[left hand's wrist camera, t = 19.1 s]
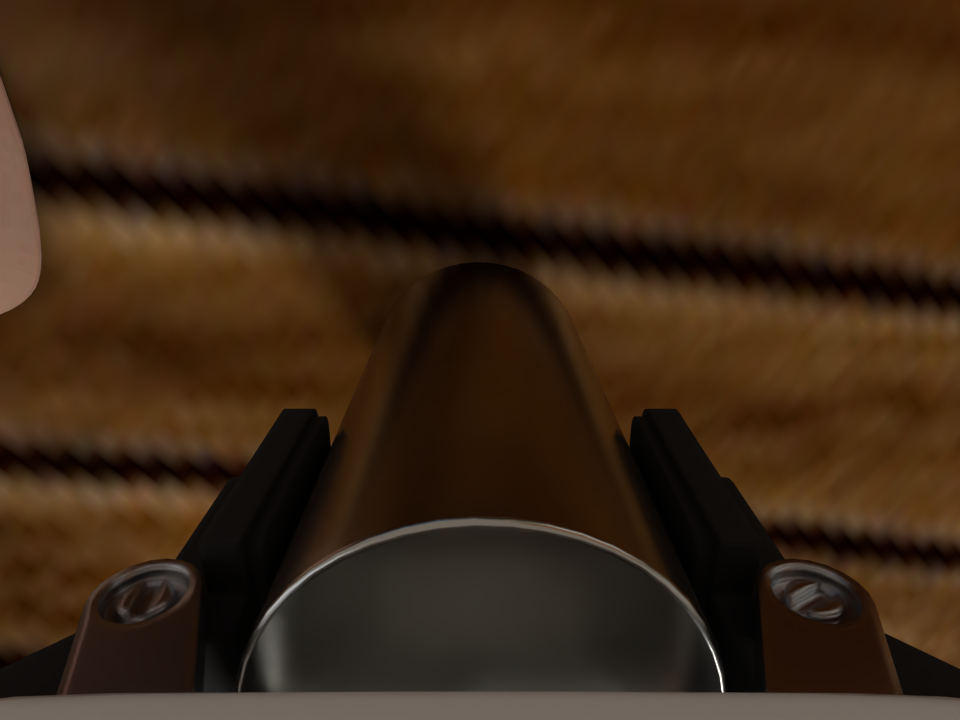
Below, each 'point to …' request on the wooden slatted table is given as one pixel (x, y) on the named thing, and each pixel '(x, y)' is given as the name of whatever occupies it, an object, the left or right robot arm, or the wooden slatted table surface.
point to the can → (480, 521)
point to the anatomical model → (16, 215)
